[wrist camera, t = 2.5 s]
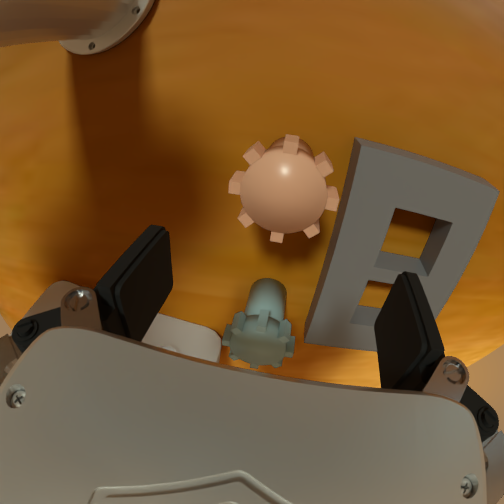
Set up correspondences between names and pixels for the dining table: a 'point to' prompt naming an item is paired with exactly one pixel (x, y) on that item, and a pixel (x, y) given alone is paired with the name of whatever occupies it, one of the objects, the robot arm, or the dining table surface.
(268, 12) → the dining table surface
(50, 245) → the dining table surface
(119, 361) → the robot arm
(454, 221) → the housing
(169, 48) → the dining table surface
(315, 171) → the jaw gear
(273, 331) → the jaw gear
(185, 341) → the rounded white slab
